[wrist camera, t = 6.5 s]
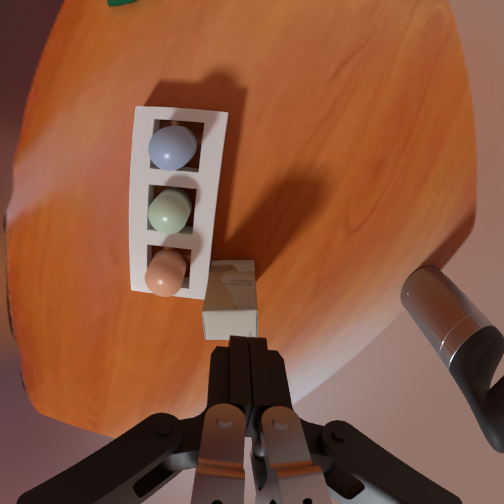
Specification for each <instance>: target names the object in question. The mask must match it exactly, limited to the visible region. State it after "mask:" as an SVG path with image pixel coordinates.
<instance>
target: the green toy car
mask: <svg viewBox="0 0 504 504" xmlns="http://www.w3.org/2000/svg"><path fill="white" fill-rule="evenodd" d="M135 1H137V0H107V3H108V5H109V6H119V5H125V4H129V3H133V2H135Z"/></svg>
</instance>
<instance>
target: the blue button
mask: <svg viewBox="0 0 504 504" xmlns="http://www.w3.org/2000/svg"><path fill="white" fill-rule="evenodd" d="M196 149H197V141H196V137H195V135H194V134H193V132H192V131H191V130H190V129H188V128H187V127H184V126H180V125H176V126H169V127H165V128H162V129H160V130H158V131H157V132H156V133H155V134H154V135H153V136H152V138H151V139H150V142H149V146H148V152H149V156H150V159H151V161H152V162H153V163H154V164H155V165H156V166H157V167H158V168H160V169H163V170H167V171H173V170H177V169H179V168H181V167H183V166H184V165H185V164H186V163H187V162H188V161H189V160H190V159H191V158H192V157H193V156H194V154H195V152H196Z"/></svg>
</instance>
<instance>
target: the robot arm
mask: <svg viewBox="0 0 504 504" xmlns="http://www.w3.org/2000/svg"><path fill="white" fill-rule="evenodd" d="M401 302H402V304H403V306H404V307H405V308H406V310H407V311H408V312H409V314H410V315H411V316H412V318H413V320H414V321H415V322H416V324H417V325H418V327H419V328H420V329H421V331H422V332H423V333H424V335H425V336H426V338H427V339H428V341H429V342H430V344H431V345H432V347H433V348H434V350H435V351H436V352H437V354H438V355H439V357H440V358H441V360H442V361H443V363H444V364H445V366H446V367H447V369H448V370H449V372H450V373H451V375H452V376H453V378H454V379H455V381H456V383H457V384H458V386H459V388H460V389H461V391H462V393H463V394H464V396H465V398H466V399H467V401H468V403H469V405H470V407H471V409H472V411H473V413H474V415H475V417H476V419H477V422H478V424H479V426H480V428H481V430H482V432H483V434H484V436H485V438H486V439H487V441H488V442H489V444H490V445H491V446H492V448H493V449H494V450H496V451H497V452H499V453H504V376H503V377H502V378H501V379H500V380H499V381H498V382H497V383H496V384H495V385H494V386H493V387H492V388H491V389H490V384H491V380H492V377H493V375H494V372H495V370H496V368H497V366H498V364H499V362H500V360H501V358H502V356H503V354H504V337H503V335H502V334H501V333H500V331H499V330H498V329H497V328H496V327H495V326H494V325H493V324H492V323H491V321H490V320H489V319H488V318H487V317H486V316H485V315H484V314H483V313H482V312H481V311H480V310H479V309H478V308H477V307H476V306H475V305H474V303H473V302H472V301H471V300H470V299H469V298H468V297H467V296H466V295H465V294H464V293H463V292H462V291H461V290H460V289H459V288H458V287H457V286H456V285H455V284H454V283H453V282H452V281H451V280H450V279H449V278H447V276H445V275H444V274H443V273H442V272H441V271H440V270H439V269H438V268H436V267H434V266H426V267H423V268H420V269H419V270H417V271H416V272H414V273H413V274H412V275H411V276H410V277H409V278H408V280H407V281H406V282H405V284H404V286H403V289H402V292H401ZM245 437H251V438H252V447H251V450H250V457H251V464H252V470H253V477H254V483H255V489H256V501H255V504H332V502H331V498H330V496H332V497H333V498H334V499H335V500H337V501H338V502H340V503H341V504H462V502H461V500H460V498H459V497H457V496H456V495H454V494H453V493H451V492H449V491H448V490H446V489H444V488H443V487H441V486H439V485H437V484H436V483H435V482H433V481H431V480H430V479H428V478H427V477H425V476H424V475H422V474H420V473H419V472H417V471H416V470H414V469H413V468H411V467H410V466H408V465H407V464H405V463H404V462H402V461H401V460H399V459H398V458H396V457H395V456H394V455H392V454H391V453H389V452H388V451H386V450H385V449H384V448H382V447H381V446H379V445H378V444H376V443H375V442H374V441H372V440H371V439H369V438H368V437H367V436H365V435H364V434H362V433H361V432H360V431H358V430H357V429H356V428H354V427H353V426H352V425H350V424H349V423H347V422H344V421H340V420H335V421H331V422H329V423H327V424H326V425H325V426H322V425H317V424H313V423H309V422H306V421H304V420H302V419H301V418H300V417H298V415H297V414H296V413H295V412H294V410H293V408H292V403H291V397H290V392H289V386H288V381H287V375H286V371H285V364H284V359H283V358H282V357H281V355H280V354H279V352H278V351H275V350H268V348H267V340H266V338H260V337H246V336H235V335H230V338H229V345H228V347H221V346H216V348H215V349H214V351H213V352H212V354H211V360H210V371H209V384H208V398H207V407H206V409H205V410H204V411H203V412H202V413H201V414H200V415H198V416H196V417H193V418H188V419H182V420H179V419H178V418H176V417H175V416H173V415H170V414H167V413H156V414H153V415H151V416H149V417H147V418H146V419H144V420H143V421H142V422H140V423H139V424H137V425H136V426H134V427H133V428H131V429H130V430H128V431H127V432H125V433H124V434H122V435H121V436H119V437H118V438H116V439H115V440H113V441H112V442H110V443H109V444H107V445H105V446H104V447H102V448H101V449H99V450H98V451H96V452H95V453H93V454H91V455H90V456H88V457H86V458H85V459H83V460H82V461H80V462H78V463H77V464H75V465H73V466H72V467H70V468H68V469H67V470H65V471H63V472H61V473H60V474H58V475H56V476H54V477H53V478H51V479H49V480H47V481H46V482H44V483H42V484H40V485H38V486H36V487H35V488H33V489H31V490H29V491H27V492H25V493H23V494H22V495H21V496H20V497H19V498H18V500H17V504H141V503H142V502H143V501H145V500H146V499H147V498H149V497H150V496H151V495H153V494H154V493H155V492H156V491H157V490H159V489H160V488H162V487H163V486H164V485H165V484H167V483H168V482H169V481H170V480H172V479H173V478H174V477H175V476H177V475H178V474H179V473H180V472H181V471H182V470H185V469H190V468H196V471H195V478H194V485H193V492H192V498H191V504H244V487H245V471H244V468H243V461H244V442H245Z"/></svg>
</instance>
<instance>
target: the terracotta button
mask: <svg viewBox="0 0 504 504" xmlns="http://www.w3.org/2000/svg"><path fill="white" fill-rule="evenodd" d="M185 271H186V262H185V260H184V258H183V257H182V255H180V254H179V253H178V252H176V251H174V250H170V249H165V250H161V251H159V252H157V253H156V254H155V256H154V257H153V259H152V261H151V263H150V265H149V267H148V269H147V271H146V273H145V283H146V285H147V287H148V288H149V290H150V291H152V292H153V293H154V294H156V295H159V296H163V297H169V296H173V295H175V294H176V293H177V292H178V291H179V290H180V288H181V285H182V282H183V278H184V275H185Z"/></svg>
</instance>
